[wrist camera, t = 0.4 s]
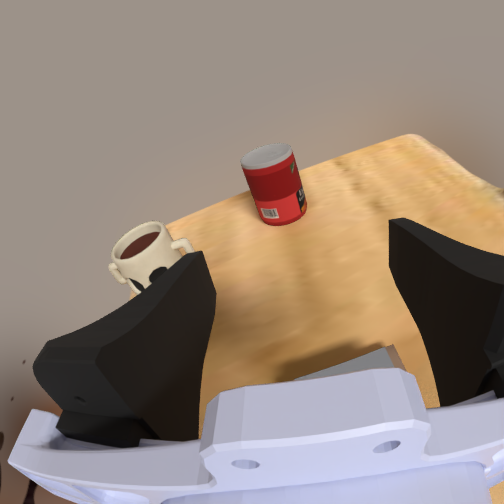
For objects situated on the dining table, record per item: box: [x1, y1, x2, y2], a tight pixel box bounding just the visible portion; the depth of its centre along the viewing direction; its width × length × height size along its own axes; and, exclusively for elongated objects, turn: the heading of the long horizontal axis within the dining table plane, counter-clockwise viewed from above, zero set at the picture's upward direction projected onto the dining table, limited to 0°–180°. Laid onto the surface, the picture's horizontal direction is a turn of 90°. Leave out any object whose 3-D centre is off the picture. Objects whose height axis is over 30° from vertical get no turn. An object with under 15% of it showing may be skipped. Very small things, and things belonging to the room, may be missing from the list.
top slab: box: [294, 347, 394, 380], centre depth 22 cm, size 8×8×2 cm
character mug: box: [108, 221, 195, 295], centre depth 37 cm, size 11×7×13 cm, turn 96°
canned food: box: [240, 143, 307, 226], centre depth 49 cm, size 8×8×11 cm
